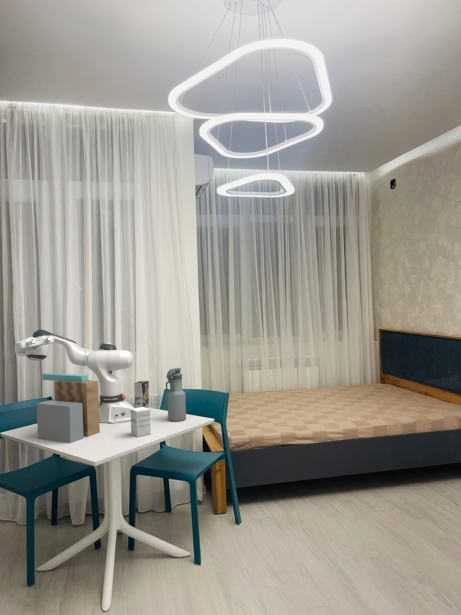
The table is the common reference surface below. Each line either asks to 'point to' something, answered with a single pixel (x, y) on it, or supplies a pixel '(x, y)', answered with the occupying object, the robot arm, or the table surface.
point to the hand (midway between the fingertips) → (41, 340)
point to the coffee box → (141, 394)
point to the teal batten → (65, 377)
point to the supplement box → (140, 422)
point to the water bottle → (175, 396)
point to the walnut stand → (82, 401)
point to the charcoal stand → (60, 421)
